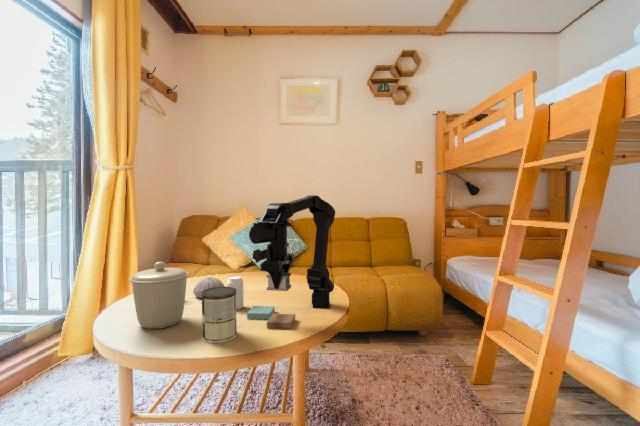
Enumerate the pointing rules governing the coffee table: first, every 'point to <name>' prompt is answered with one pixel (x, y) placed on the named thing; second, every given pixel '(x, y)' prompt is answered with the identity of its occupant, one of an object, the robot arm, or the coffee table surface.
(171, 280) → the canister
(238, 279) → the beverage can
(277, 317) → the brown flat square block
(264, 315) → the stand
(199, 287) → the sea urchin shell
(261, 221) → the robot arm
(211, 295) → the coffee can
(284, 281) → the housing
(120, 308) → the coffee table surface
